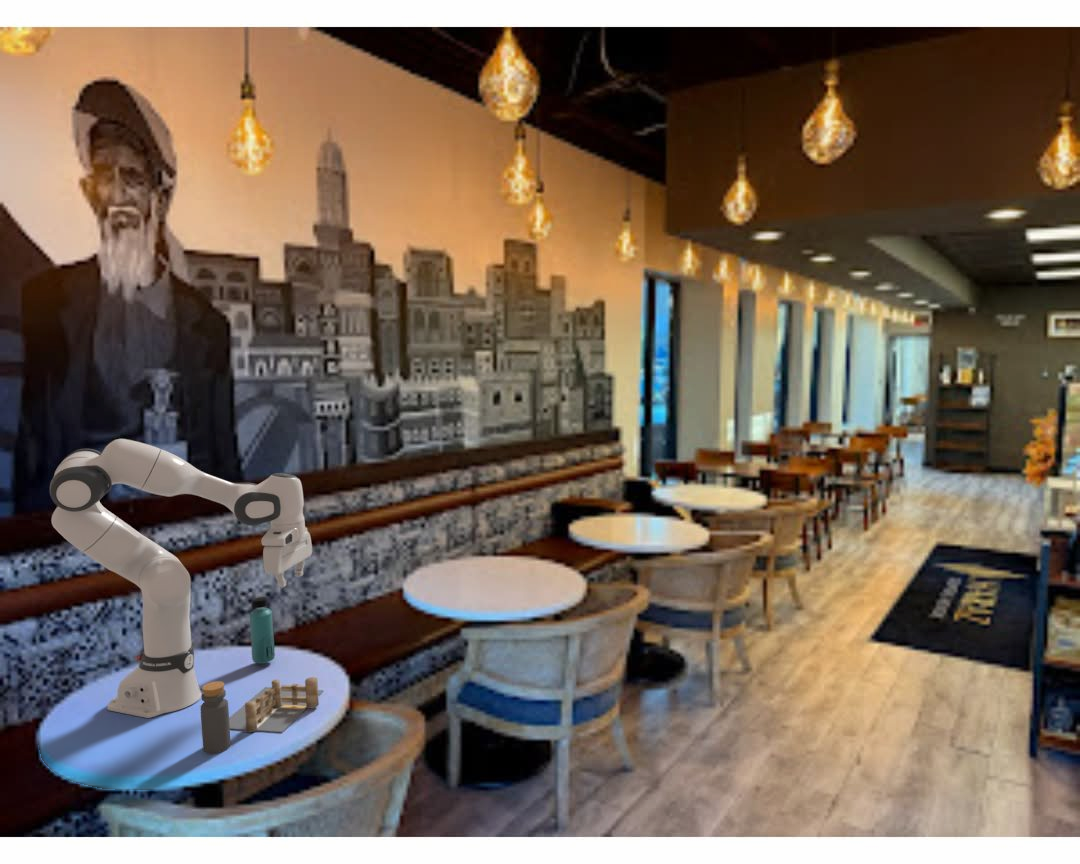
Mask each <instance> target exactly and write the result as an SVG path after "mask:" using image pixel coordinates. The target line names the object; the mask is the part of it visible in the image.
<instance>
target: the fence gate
mask: <svg viewBox="0 0 1080 864" xmlns="http://www.w3.org/2000/svg"><path fill="white" fill-rule="evenodd" d="M298 684H299V683H292V685H291V684H282V685H280V688H281V691H292V696H283V697H282V698H281V701H282V702H286V703H292V704H293V705H297V704H298V703H306V706H307V707H308V708H307V709H311V708H312V709H313V708H316V707H318V706H319V702H320V701H319V696H318V690H319V688H318V687H319V685H318V677H315V676H314V677H312V676H311V677H308V678H306V679H305V680H304V684H305V685H303V684H302V685H300V684H299V685H298ZM298 692H306V697H300V696H298Z"/></svg>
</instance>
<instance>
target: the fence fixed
mask: <svg viewBox="0 0 1080 864" xmlns="http://www.w3.org/2000/svg"><path fill="white" fill-rule="evenodd" d="M271 687H272V688H271V689H267V690H265V694H264V695H263V696H262V697H261V696H258V697H257V698H256V702H255V701H249V700H248V701H249V702H248V701H247V702H245V703H244V705H245V715H246V730H245V731H246V732H247V733H254V732H257V731H256V730H257V722H262V721H263V720H264V716H263V715H264V714H270V713H271V712H272V707H273V708H279V707H281V693H280V688H281V680H280V679H273V680H272V681H271ZM271 696H272V698H273V699H272V700H271ZM264 702H265V706H264V707H263V703H264ZM256 710H257V713H256Z"/></svg>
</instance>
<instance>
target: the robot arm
mask: <svg viewBox="0 0 1080 864" xmlns="http://www.w3.org/2000/svg"><path fill="white" fill-rule="evenodd" d="M118 484H119V485H120V484H121V485H126V486H129V487H132V488H135V489H137V490H140V491H142V492H146V493H150V494H153V495H158V496H164V497H169V498H170V497H175V496H179V495H193V496H198V497H201V498H203V499H207V500H210V501H212V502H216V503H218V504H220V505H223V506H225V508H227V509H228V510H230V512H231V513H232V514H233V515H234V517H235V518H236V519H237V521H238V522H239V523H241V524H243V525H246V526H258V525H261V524H266V523H269V522H270V527H269V528H268V530H267V532H266V533H265V534H264V535H263V537H261V545H262V546H264V547H263V552H262V556H263V557H262V559H263V568H264V572H265V574H266V575H268V576H269V575H270V576H274V578H275V579H276V581H277V587H278V588H284V587H286V586H287V579H285V577H284V576H285V572H286V571H287V570H290V569H291V568H292V567H294V566H296V567H295V570H294V576H295V577H296V578H300V577H302V576H303V575H304V567H305V564H306V560H307V558H309V557H311V556H312V553H313V544H312V538H311V534H310V532H309V531H308V530H309V529H308V527H307V526H306V522H305V520H306V519H305V516H304V513H303V512H304V511H303V509H304V506H305V505H304V504H305V503H304V502H305V501H304V491H303V485H302V481H301V480H300V478H299V477H297V476H296V475H293V474H290V473H283V472H280V473H279V472H278V473H277V472H276V473H272V474H271V475H269V477H268V478H266V479H264V480H263V481H261V482H260V483H258V484H257V483H253V482H232V481H228V480H225V479H223V478H220V477H218V476H214V475H212V474H209V473H206V472H204V471H201V469H198V468H196V467H195V466H193V465H192V464H191V463H189V462H187V461H186V460H184V459H183V458H181V457H179V456H177V455H176V454H173V453H172V452H169V451H167V450H164V449H162V448H159V447H157V446H153V445H151V444H147V443H144V442H141V441H135V440H132V439H127V438H118V439H114V440H112V441H111V442H109V443H108V444H107V445H106V446H105V447H104V449H103V450H102V452H101V451H99V450H97V449H93V448H80V449H76V450H74V451H72V452H71V453H69V454H67V455H65V457H64V458H63V460H62V461H61V463H60V464H59V465H58V466H57V468H56V470H55V471H54V475H53V477H52V479H51V480H50V483H49V496H50V498H51V501H53V503H54V504H55V505H56V508H55V510H54V511H53V513H52V515H51V525H52V527H53V528H54V529H55V530H56V531H57V533H59V534H60V535H61V536H62V537H63V539H65V540H66V541H67V542H68V543H70V544H71V545H72V546H73V547H74V548H76V549H77V550H79V551H80V552H82V553H83V554H84V555H85V556H87V557H89V558H91V559H92V560H93V561H95V562H96V563H97V564H100V565H101V566H102V567H104V568H106V570H109V571H111V572H113V573H115V574H117V575H119V576H121V577H122V578H124V579H126V580H127V581H129V582H131V583H133V584H135V586H137V587H138V588H139V589H140V590H141V593H142V594H141V595H142V624H141V625H142V626H141V627H142V638H143V639H142V640H143V648H144V649H143V650H144V651H142V652H140V654H139V655H137V656H134V659H135V660H134V661H135V662H138V661H140V662H139V664H138V666H137V667H136V668H135V669H133V670H132V671H131V672H130V673H128V674H127V675H126V676H125V677H124V678H123V679H122V680H120V683H119V685H118V687H117V695H116V696H115V697H114V698H112V699H111V700H110V701H109V703H108V704H107V708H106V709H107V710H108V711H112V712H117V713H121V714H124V715H125V714H127V715H131V716H136V717H141V718H144V719H145V718H147V719H150V718H154V717H157V716H159V715H162V714H167V713H171V712H176V711H179V710H182V709H184V708H188V707H189V706H191V705H193V704H195V703H197V701H199V700H200V699H201V698H202V697H201V696H202V694H203V692H202V691H201V689H200V687H199V684H198V680H197V676H196V671H195V667H194V666H195V652H194V644H193V643H192V636H191V635H192V634H191V621H190V619H191V618H190V612H191V595H192V594H191V587H192V586H191V585H192V584H191V582H192V581H191V575H190V573H189V571H188V570H187V568H186V567H185V566H184V564H183V563H182V562H181V561H180V560H179V558H178V557H177V556H176V555H174V554H173V553H171V552H169V551H168V550H166V549H165V548H164V547H163V546H161V545H159V544H157V543H156V542H154V541H153V540H151V539H149V538H148V537H146V536H145V535H144V534H142V533H141V532H139V531H137V530H136V529H135V528H133V527H132V526H131V525H130V524H128V523H127V522H125V521H124V520H122V519H121V518H119V516H117V515H115V514H114V513H112V512H111V511H109V510H108V509H107V508H106V507H104V506H103V505H102V503H101V502H100V500H101V499H102V498H103V497H104V496H106V494H108V492H110V491H111V490H112V487H113V486H114V485H118Z"/></svg>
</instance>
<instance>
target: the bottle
mask: <svg viewBox="0 0 1080 864" xmlns="http://www.w3.org/2000/svg"><path fill="white" fill-rule="evenodd" d="M201 690H202V691H201V692H202V695H201V697H200V698H201V701H203V703H201V705H200V719H201V720H200V721H201V737H202V738H201V739H202V749H203V752H204V753H205V754H209V755H212V754H220V753H223V752H225V751H227V750H228V749H229V748H230V747H231V729H230V724H229V717H230V712H229V700H228V699H227V698H225V697H226V694H227V692H226V690H225V682H224V681H211V682H208V683H205V684H204V685H203V686H202V687H201Z"/></svg>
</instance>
